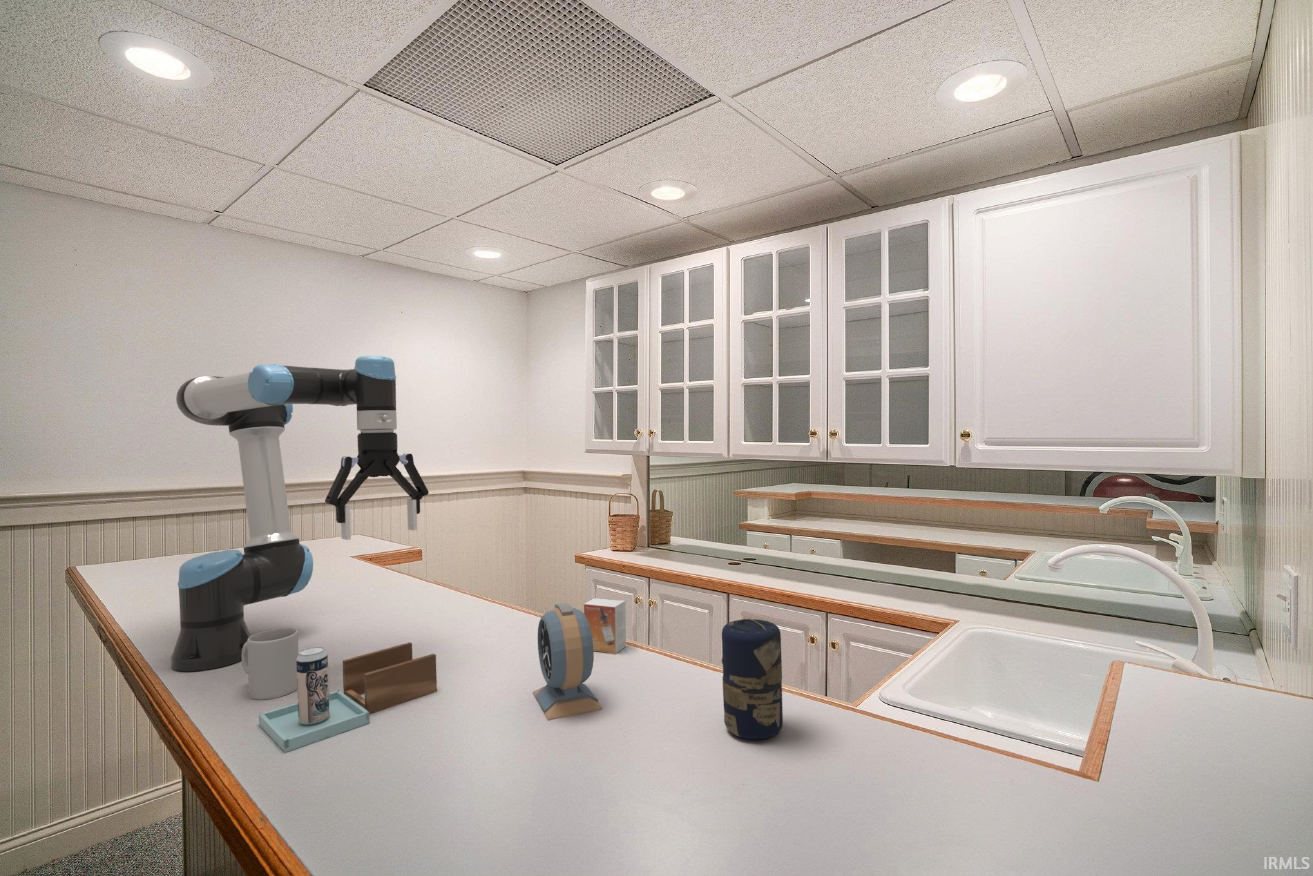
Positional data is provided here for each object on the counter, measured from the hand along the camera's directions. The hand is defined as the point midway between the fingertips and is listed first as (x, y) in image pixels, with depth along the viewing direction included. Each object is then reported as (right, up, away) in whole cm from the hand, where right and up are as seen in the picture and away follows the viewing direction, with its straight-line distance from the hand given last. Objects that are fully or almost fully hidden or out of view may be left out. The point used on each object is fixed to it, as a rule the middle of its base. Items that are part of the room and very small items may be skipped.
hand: (380, 534), depth 130 cm
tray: (-1, -29, -22) cm, 37 cm away
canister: (+73, -28, -28) cm, 83 cm away
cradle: (+7, -29, -11) cm, 31 cm away
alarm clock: (+41, -28, -16) cm, 52 cm away
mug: (-19, -30, -7) cm, 36 cm away
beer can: (-2, -29, -22) cm, 36 cm away
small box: (+46, -28, +11) cm, 55 cm away
